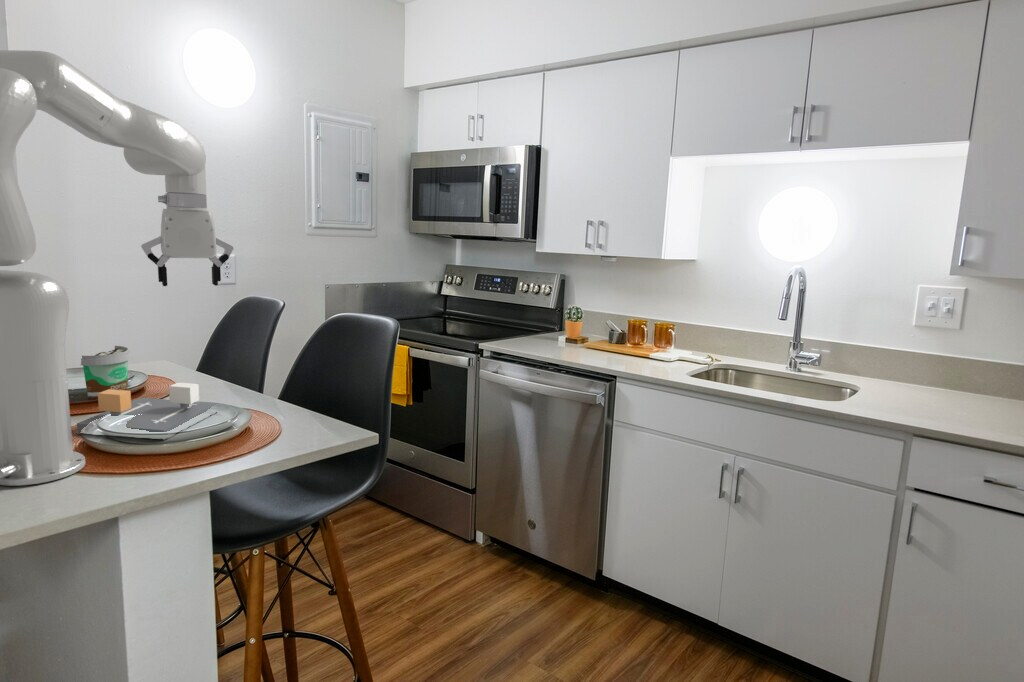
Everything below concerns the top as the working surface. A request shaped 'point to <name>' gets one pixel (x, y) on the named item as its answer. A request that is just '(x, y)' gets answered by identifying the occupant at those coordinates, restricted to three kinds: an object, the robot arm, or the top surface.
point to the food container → (106, 371)
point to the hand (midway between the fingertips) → (190, 285)
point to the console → (155, 414)
